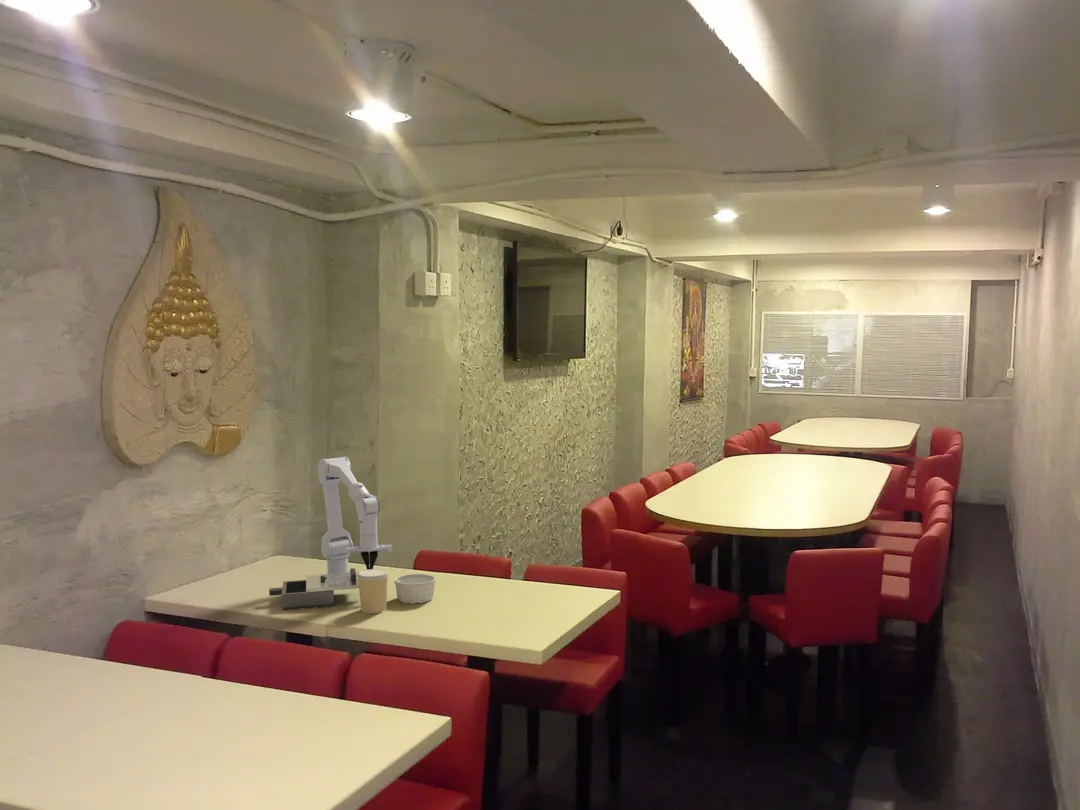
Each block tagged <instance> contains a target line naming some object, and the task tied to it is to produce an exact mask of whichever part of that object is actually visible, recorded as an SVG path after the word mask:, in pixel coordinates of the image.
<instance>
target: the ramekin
mask: <svg viewBox="0 0 1080 810" xmlns="http://www.w3.org/2000/svg"><path fill="white" fill-rule="evenodd" d="M436 581H437V579H436V577H435V576H433V575H431V574H427V573H408V574H404V575H400V576H397V577H396V578H394V585H395V591H396V598H397V599H398V601H399V602H400V601H401V602H400V603H402V602H404V603H403V604H407V603H410V604H409V605H416V604H415V603H420V604H424V603H423V602H425V603H428V602H430V601H431V600H432V599H433V597H434V592H435V584H436ZM427 601H428V602H427Z"/></svg>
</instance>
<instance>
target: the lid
mask: <svg viewBox="0 0 1080 810" xmlns="http://www.w3.org/2000/svg"><path fill="white" fill-rule="evenodd" d="M358 575H359V571H356V568H349V571H348V572H347V573H334V574H327V573H323V574H309V575H306V577H305V578H306V579H305V580H306V592H317V591H330V590H334V591H339V590H353V589H359V581H358Z"/></svg>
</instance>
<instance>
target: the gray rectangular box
mask: <svg viewBox="0 0 1080 810" xmlns="http://www.w3.org/2000/svg"><path fill="white" fill-rule="evenodd" d="M334 591H335V590H330V591H317V592H306V579H299V580H298V579H297V580H286V581H282V587H270V588H269V591H268V593H269V597H272V596H281V610H282V611H289V609H293V610H301V609H300V608H305V609H314V608H313V607H317V608H326V606H329V607H335V592H334Z"/></svg>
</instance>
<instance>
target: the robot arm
mask: <svg viewBox="0 0 1080 810" xmlns="http://www.w3.org/2000/svg"><path fill="white" fill-rule="evenodd" d="M351 468H352V466H351V462H350V459H349V458H348V457H347V456H342V457H331V458H322V459H320V460H319V461H318V464H317V474H318V475H317V477H318V482H319V483H321V484H322V489H323V498H324V506H325V515H326V522H327V529H328V530H327V532H325V534H323V536H322V537H321V546H320V551H321V555H322V556H323V557H324V559H326V572H327V573H326V574H334V573H347V572H349V558H350V556H351V555H354V554H360V556H361V558H362V559H363V562H364V565H365V567H366V570H369V569H374V566H375V563H376V560H377V558H378V555H379V553H381V552H384V553H385V552H388V553H391V552H393V551H392V549H393V548H392V544H378V543H379V540H378V539H379V538H378V537H379V536H378V514H379V513H380V511H381V501H380V499H379V497H378V496H376V495H373V494H371V493H370V492H369V491H368V489H367V488H366V486H365V485H364V483H362V482H358V481H357V479H356V478H355V476H354V474H353V472H352V469H351ZM340 482H343V484H344V485H345V487H347V489H348V490H347V493H348V496H349V497H350V499H351V500H352V502H353V503H354V504H355V511H356V513H357V519H358V521H359V545H357V546H354V543H353V541H352V537H351V533H350V532H349V531H347V530H346V529H344V526H343V517H342V509H341V502H340V501H341V500H340V493H339V483H340Z"/></svg>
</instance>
